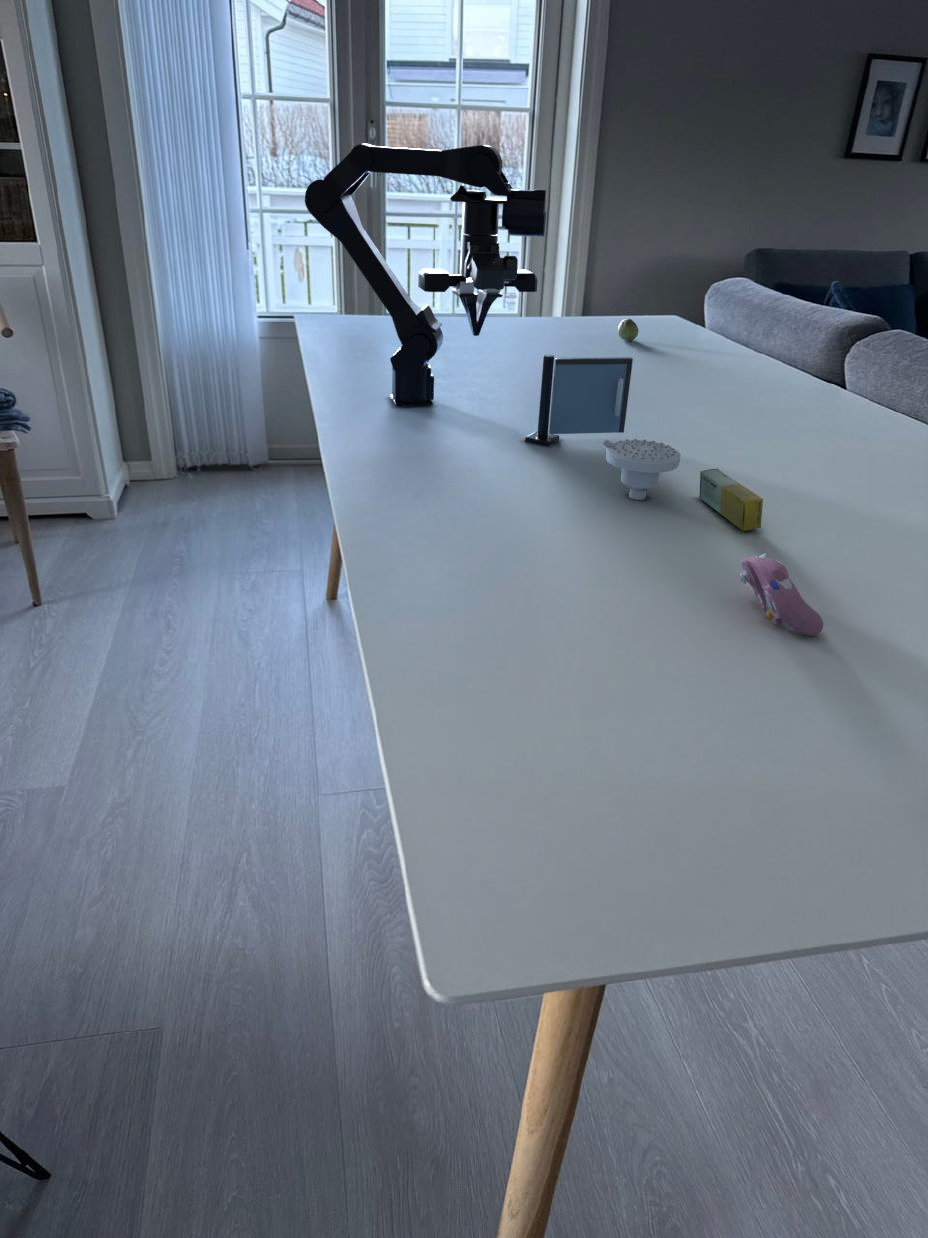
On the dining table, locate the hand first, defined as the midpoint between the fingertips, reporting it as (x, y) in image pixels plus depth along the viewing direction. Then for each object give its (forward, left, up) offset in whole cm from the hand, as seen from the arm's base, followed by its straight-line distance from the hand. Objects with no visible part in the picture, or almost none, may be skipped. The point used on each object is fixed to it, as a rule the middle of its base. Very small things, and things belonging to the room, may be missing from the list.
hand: (475, 335), depth 150 cm
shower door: (+13, -22, -11) cm, 27 cm away
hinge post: (+6, -21, -12) cm, 25 cm away
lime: (+52, +53, -12) cm, 75 cm away
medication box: (+19, -54, -12) cm, 59 cm away
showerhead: (+10, -46, -12) cm, 49 cm away
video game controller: (+10, -80, -12) cm, 82 cm away
